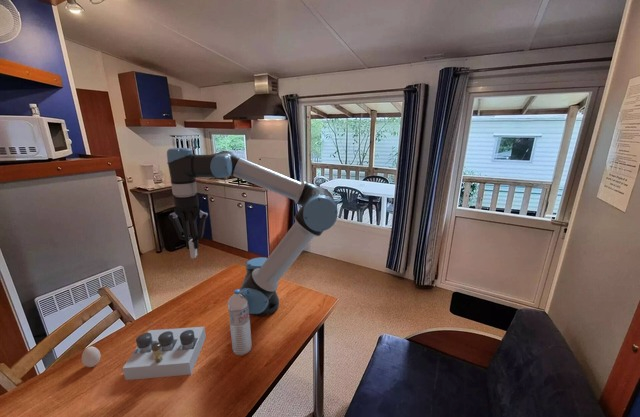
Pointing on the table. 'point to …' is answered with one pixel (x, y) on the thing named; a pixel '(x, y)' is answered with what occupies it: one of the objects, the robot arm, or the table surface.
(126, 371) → the console
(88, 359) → the egg
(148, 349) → the knob
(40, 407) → the table surface
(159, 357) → the pot stem
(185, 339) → the knob
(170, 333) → the knob mid
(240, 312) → the water bottle
